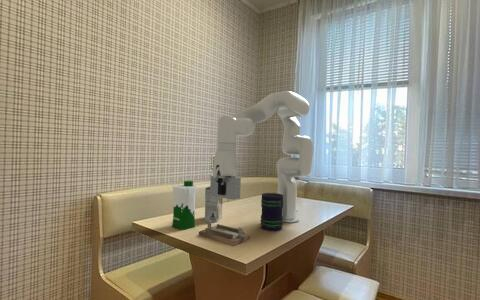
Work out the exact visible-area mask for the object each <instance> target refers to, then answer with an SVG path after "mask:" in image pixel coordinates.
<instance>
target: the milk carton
mask: <svg viewBox="0 0 480 300" xmlns="http://www.w3.org/2000/svg"><path fill="white" fill-rule="evenodd" d="M197 188H198V186H197V185H194V181H193V180H184V181H183V184H179V185H174V186H172V192H173V211H172V212H173V216H172V228H175V229H178V230H181V231H184V230H187V229H192V228H195V227H196V219H195V217H196V216H195V214H196V213H195V211H196V209H195V207H196V193H197Z"/></svg>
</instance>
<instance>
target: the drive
mask: <svg viewBox="0 0 480 300" xmlns="http://www.w3.org/2000/svg"><path fill="white" fill-rule="evenodd" d="M241 179H242V178H241V177H237V176H236V177H225V182H224V185H225V195H218V184H217V182H216V180H215V179H214V178H213V175H210V185H209V187H210V196H214V197H220V198H222V199H226V200H233V201H235V200H239V199H241V181H242V180H241ZM221 180H222V178H221Z"/></svg>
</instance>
